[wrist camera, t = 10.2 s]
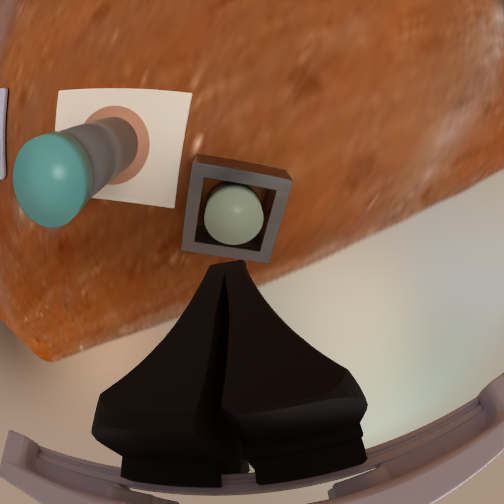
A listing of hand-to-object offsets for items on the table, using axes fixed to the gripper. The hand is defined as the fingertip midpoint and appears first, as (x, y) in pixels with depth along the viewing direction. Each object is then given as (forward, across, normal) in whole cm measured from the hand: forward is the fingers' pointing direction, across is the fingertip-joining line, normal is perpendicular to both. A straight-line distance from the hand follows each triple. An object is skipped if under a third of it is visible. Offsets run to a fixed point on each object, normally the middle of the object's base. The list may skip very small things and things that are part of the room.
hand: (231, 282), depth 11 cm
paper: (+9, +7, -6) cm, 13 cm away
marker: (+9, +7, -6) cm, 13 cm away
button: (+9, 0, 0) cm, 9 cm away
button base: (+9, 0, 0) cm, 9 cm away
